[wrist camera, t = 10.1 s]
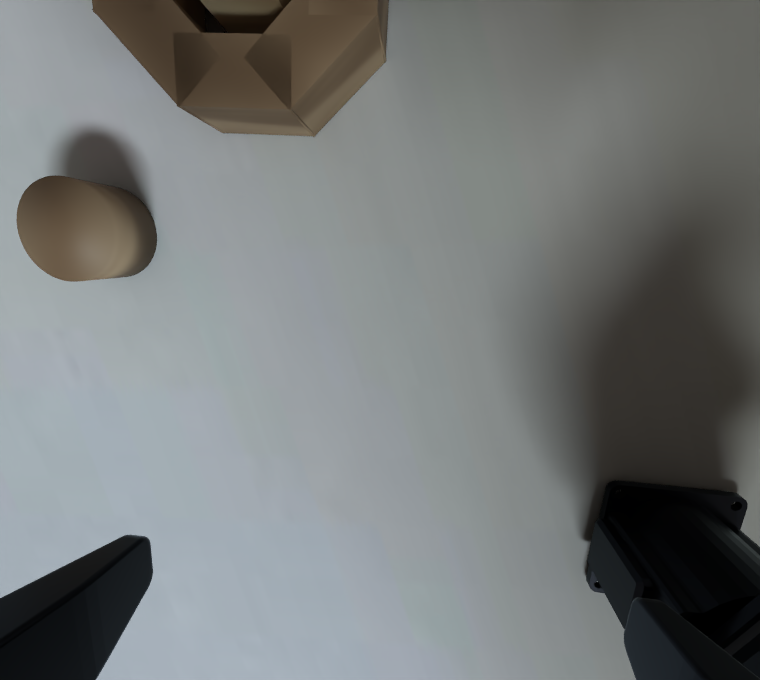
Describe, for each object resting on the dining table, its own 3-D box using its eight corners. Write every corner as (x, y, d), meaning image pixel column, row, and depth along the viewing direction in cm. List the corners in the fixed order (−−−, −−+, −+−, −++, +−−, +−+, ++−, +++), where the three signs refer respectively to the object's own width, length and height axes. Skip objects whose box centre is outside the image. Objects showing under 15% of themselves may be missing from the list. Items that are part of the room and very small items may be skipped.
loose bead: (153, 188, 19) (106, 177, 16) (161, 279, 20) (117, 284, 17) (70, 185, 19) (8, 173, 17) (81, 274, 20) (25, 278, 18)
